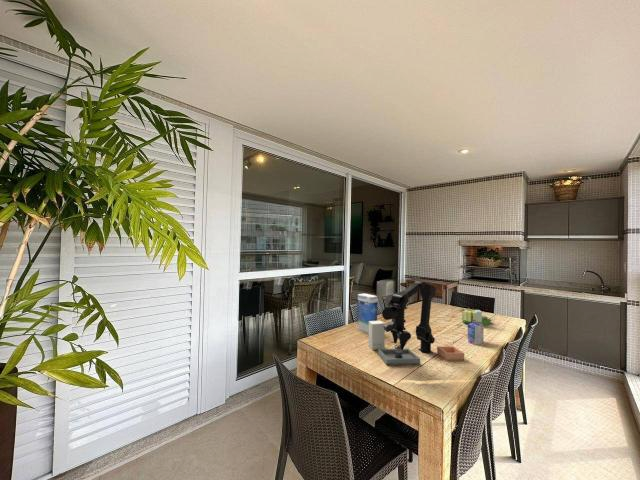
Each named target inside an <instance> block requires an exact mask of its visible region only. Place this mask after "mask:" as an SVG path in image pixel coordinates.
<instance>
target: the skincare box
mask: <svg viewBox="0 0 640 480" xmlns="http://www.w3.org/2000/svg"><path fill="white" fill-rule="evenodd" d="M385 323H386V322H383V321H382V320H377V321H369V334H368V347H369V348H370V349H371V350H372V351H375V350H376V351H377V350H378V349H386V347H385V343H386V339H385V335H386V331H385V330H384V327H383V324H385Z"/></svg>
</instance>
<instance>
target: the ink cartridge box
mask: <svg viewBox="0 0 640 480" xmlns="http://www.w3.org/2000/svg"><path fill="white" fill-rule="evenodd" d="M473 321H475V320H472V322H473ZM484 334H485V333H484V326H483V324H481V323H477V322H476V321H475V322H473V323H471V324H467V343H468V344H471V345H474V346H477V345H481V344H484V340H485V339H484V337H485V336H484Z"/></svg>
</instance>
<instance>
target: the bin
mask: <svg viewBox="0 0 640 480" xmlns="http://www.w3.org/2000/svg"><path fill="white" fill-rule="evenodd" d="M436 354H437V355H438V356H440V357H441V358H442V359H444V361H447V362H449V361H450V362H451V361H452V362H453V361H454V362H455V361H456V362H457V361H465V352H463V351H462V350H461V349H459V348H458V347H456V346H452V345H449V346H448V345H447V346H444V345H443V346H441V345H439V346H438V345H437V347H436Z"/></svg>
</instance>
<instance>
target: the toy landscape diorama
mask: <svg viewBox="0 0 640 480" xmlns="http://www.w3.org/2000/svg"><path fill="white" fill-rule="evenodd" d="M459 312H461V313H462V317H461V321H462V323H463V324H466V325H468V324H471V323H473V322H475V321H476V322H477V323H481V324H483V327H484V326H487V325H490V324H491V321H493V320H492V319H491V318H489V317H487V316H484V315H483V313H482V311H481V310H480V309H474V308H472V309H471V308H469V307H468V308H462V309H461V308H459ZM482 315H483V316H482ZM472 320H475V321H473V322H472Z"/></svg>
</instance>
